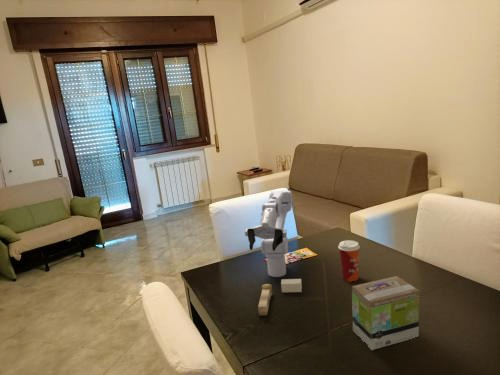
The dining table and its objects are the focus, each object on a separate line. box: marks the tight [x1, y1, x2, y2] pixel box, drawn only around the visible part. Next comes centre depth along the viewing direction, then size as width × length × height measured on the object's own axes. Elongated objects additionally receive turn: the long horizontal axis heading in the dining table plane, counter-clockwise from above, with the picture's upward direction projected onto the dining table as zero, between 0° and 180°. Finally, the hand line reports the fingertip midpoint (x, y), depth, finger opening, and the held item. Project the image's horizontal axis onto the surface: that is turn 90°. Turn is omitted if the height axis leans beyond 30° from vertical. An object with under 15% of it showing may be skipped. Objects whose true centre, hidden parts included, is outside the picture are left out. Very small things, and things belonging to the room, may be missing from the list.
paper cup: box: [337, 240, 361, 283], centre depth 135 cm, size 8×8×14 cm
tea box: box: [351, 275, 420, 351], centre depth 101 cm, size 15×10×15 cm
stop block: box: [280, 278, 303, 293], centre depth 131 cm, size 3×7×4 cm, turn 81°
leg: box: [257, 283, 274, 316], centre depth 124 cm, size 15×4×3 cm, turn 171°
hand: (262, 247), depth 121 cm, fingers open, 7 cm apart
